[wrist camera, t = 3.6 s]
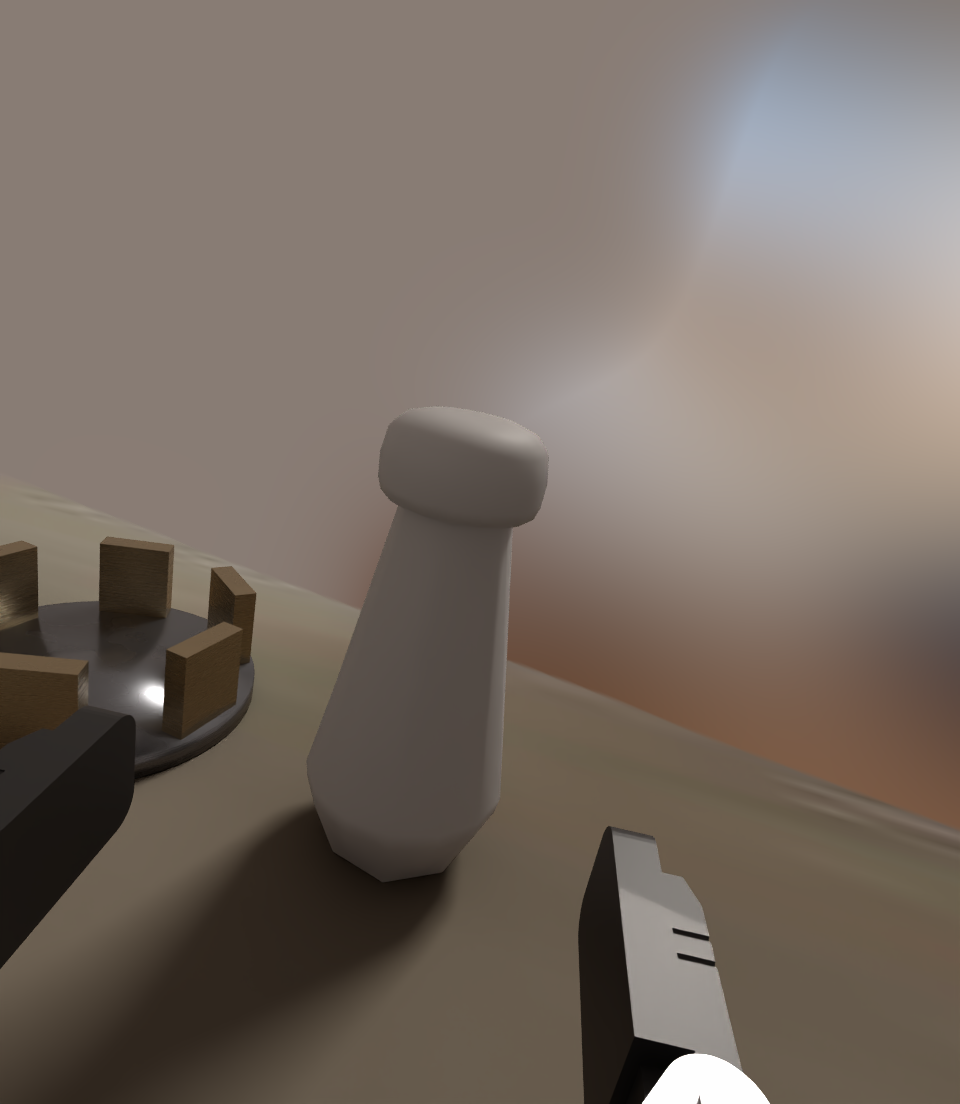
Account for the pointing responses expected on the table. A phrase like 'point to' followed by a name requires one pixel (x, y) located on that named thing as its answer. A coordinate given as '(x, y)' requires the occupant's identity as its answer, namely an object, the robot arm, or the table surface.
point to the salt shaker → (429, 648)
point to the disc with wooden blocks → (126, 653)
